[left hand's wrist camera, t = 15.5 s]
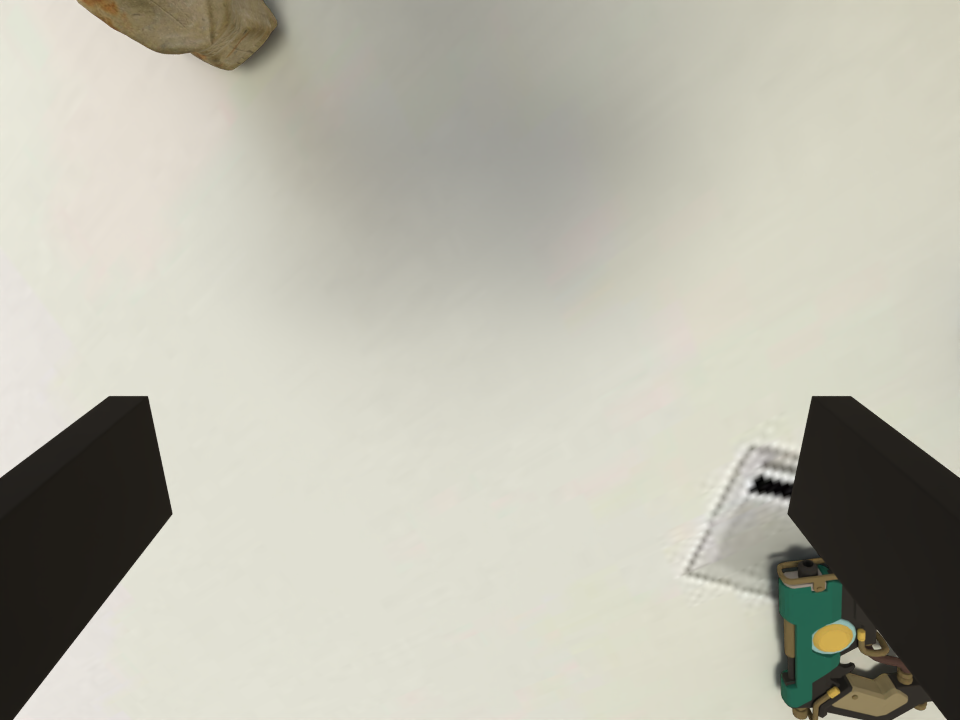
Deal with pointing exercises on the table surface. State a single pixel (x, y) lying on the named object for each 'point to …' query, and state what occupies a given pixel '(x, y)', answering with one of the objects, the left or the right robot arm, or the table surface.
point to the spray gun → (835, 651)
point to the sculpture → (191, 26)
